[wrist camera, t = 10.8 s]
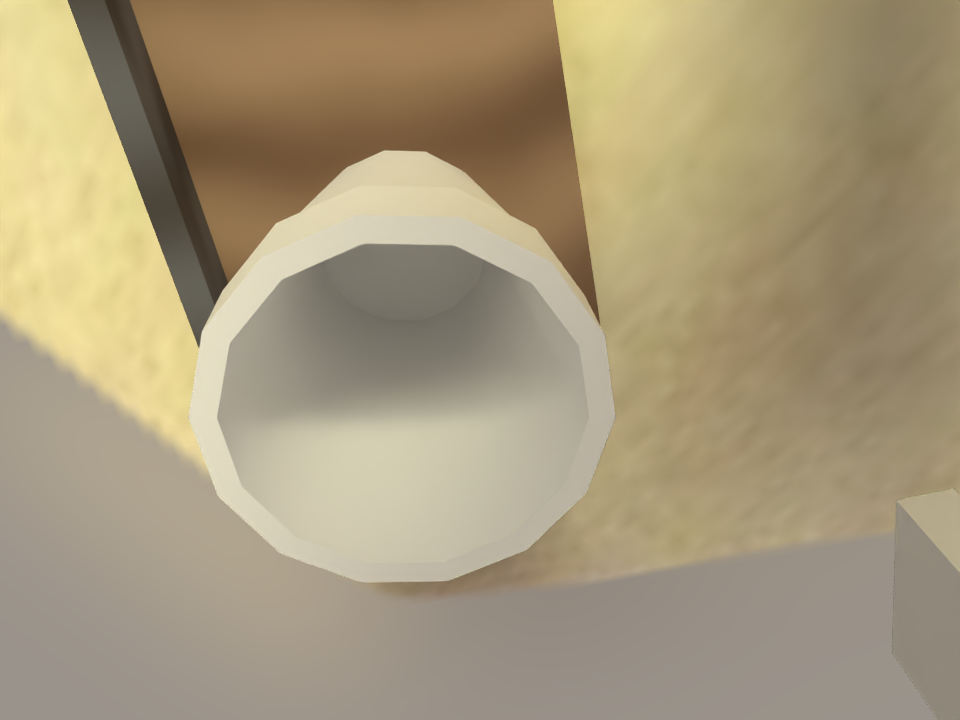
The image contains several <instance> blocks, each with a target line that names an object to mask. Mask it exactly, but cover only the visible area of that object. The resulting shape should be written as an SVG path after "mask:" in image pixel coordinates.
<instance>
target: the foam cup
mask: <svg viewBox="0 0 960 720" xmlns="http://www.w3.org/2000/svg"><path fill="white" fill-rule="evenodd" d="M188 418H189V421H190V423H191V426H192V429H193V431H194V434H195V436H196V439H197V442H198V444H199V447H200V450H201V452H202V455H203V457H204V460H205V463H206V465H207V468H208V471H209V473H210V476H211V478H212V481H213V484H214V486H215V489H216V492H217V494H218V497H219V498H221V499H222V500H223V501H224V502H225V503H226V504H227V505H228V506H229V507H230V508H231V509H233V510H234V511H235V512H236V513H237V514H238V515H239V516H240V517H241V518H242V519H243V520H245V521H246V522H247V523H248V524H249V525H250V526H251V527H252V528H253V529H254V530H256V532H258V533H259V534H260V535H261V536H262V537H263V538H264V539H265V540H267V542H269V543H270V544H271V545H272V546H273V547H274V548H275V549H276V550H277V551H278V552H279V553H280V554H283V555H286V556H288V557H291V558H294V559H297V560H300V561H303V562H305V563H308V564H311V565H314V566H317V567H319V568H322V569H325V570H328V571H330V572H333V573H336V574H339V575H341V576H344V577H347V578H350V579H353V580H355V581H358V582H361V583H375V582H430V581H450V580H452V579H455V578H457V577H460V576H462V575H465V574H467V573H470V572H472V571H475V570H478V569H480V568H483V567H485V566H488V565H490V564H493V563H495V562H498V561H500V560H503V559H505V558H508V557H511V556H513V555H516V554H518V553H521V552H523V551H526V550H527V549H528V548H530V547H531V546H532V545H533V544H534V543H535V542H536V541H537V540H538V539H539V538H540V537H541V536H542V535H543V534H544V533H545V532H546V531H547V530H548V529H549V528H550V527H552V526H553V525H554V524H555V523H556V522H557V521H558V520H559V519H560V518H561V517H562V516H563V515H564V514H565V513H566V512H567V511H568V510H569V509H570V508H571V507H573V506H574V505H575V504H576V503H577V502H578V501H579V500H580V499H581V498H582V497H583V496H584V495H585V494H586V493H587V490H588V488H589V485H590V483H591V480H592V477H593V475H594V472H595V470H596V467H597V465H598V462H599V459H600V457H601V454H602V452H603V449H604V446H605V444H606V441H607V439H608V436H609V433H610V431H611V428H612V426H613V423H614V420H615V418H616V417H615V409H614V401H613V394H612V386H611V378H610V370H609V362H608V354H607V346H606V339H605V334H604V332H603V330H602V328H601V326H600V324H599V322H598V320H597V319H596V317H595V315H594V313H593V311H592V309H591V307H590V305H589V303H588V301H587V299H586V297H585V295H584V294H583V293H582V291H581V290H580V289H579V287H578V286H577V284H576V283H575V282H574V280H573V279H572V278H571V276H570V275H569V273H568V272H567V271H566V269H565V268H564V267H563V265H562V264H561V262H560V261H559V260H558V258H557V257H556V256H555V254H554V253H553V251H552V250H551V249H550V247H549V246H548V245H547V243H546V242H545V241H544V239H543V238H542V236H541V235H540V234H539V232H538V231H537V230H536V228H534V227H532V226H530V225H528V224H526V223H524V222H522V221H520V220H518V219H516V218H514V217H512V216H510V215H509V214H508V213H507V212H506V211H505V210H504V209H503V208H502V207H500V206H499V205H498V204H497V203H496V202H495V201H494V200H493V199H492V198H491V197H490V196H489V195H488V194H487V193H486V192H485V191H484V190H483V189H482V188H481V187H480V186H479V185H478V184H476V183H475V182H474V181H473V180H472V179H471V178H470V177H469V176H468V175H467V174H466V173H465V172H463V171H462V170H460V169H458V168H456V167H455V166H453V165H451V164H449V163H447V162H445V161H443V160H441V159H439V158H437V157H435V156H433V155H431V154H429V153H427V152H421V151H385V150H384V151H382V152H380V153H378V154H375V155H373V156H371V157H369V158H367V159H364V160H362V161H360V162H358V163H355V164H353V165H351V166H349V167H347V168H346V169H344V170H343V171H342V172H341V173H340V174H339V175H338V176H337V177H336V178H335V179H334V180H333V181H332V182H331V183H330V184H329V185H328V186H327V187H326V188H325V189H324V190H322V191H321V192H320V193H319V194H318V195H317V196H316V197H315V198H314V199H313V200H312V201H311V202H310V203H309V204H308V205H307V206H306V207H305V208H304V209H303V210H302V211H301V212H300V213H298V214H296V215H293V216H291V217H289V218H287V219H284V220H282V221H280V222H278V223H276V224H275V225H274V227H273V228H272V229H271V230H270V232H269V233H268V234H267V235H266V237H265V238H264V239H263V240H262V242H261V243H260V244H259V245H258V247H257V248H256V249H255V251H254V252H253V253H252V254H251V256H250V257H249V258H248V259H247V261H246V262H245V263H244V264H243V266H242V267H241V268H240V269H239V271H238V272H237V273H236V274H235V276H234V277H233V278H232V279H231V281H230V282H229V283H228V284H227V286H226V287H225V288H224V290H223V291H222V293H221V295H220V297H219V299H218V301H217V303H216V305H215V307H214V309H213V311H212V313H211V315H210V317H209V319H208V321H207V323H206V324H205V326H204V328H203V330H202V334H201V341H200V347H199V353H198V360H197V366H196V373H195V379H194V385H193V392H192V398H191V405H190V411H189V417H188Z"/></svg>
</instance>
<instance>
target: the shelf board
mask: <svg viewBox="0 0 960 720" xmlns="http://www.w3.org/2000/svg"><path fill="white" fill-rule="evenodd" d="M68 3H69V5H70V8H71V11H72V13H73V16H74V19H75V21H76V24H77V27H78V29H79V32H80V35H81V37H82V40H83V42H84V45H85V48H86V50H87V53H88V56H89V58H90V61H91V64H92V66H93V69H94V72H95V74H96V77H97V80H98V82H99V85H100V87H101V90H102V93H103V95H104V98H105V101H106V103H107V106H108V109H109V111H110V114H111V117H112V119H113V122H114V124H115V127H116V130H117V132H118V135H119V138H120V140H121V143H122V146H123V148H124V151H125V154H126V156H127V159H128V162H129V164H130V167H131V169H132V172H133V175H134V177H135V180H136V183H137V185H138V188H139V191H140V193H141V196H142V199H143V201H144V204H145V207H146V209H147V212H148V214H149V217H150V220H151V222H152V225H153V228H154V230H155V233H156V236H157V238H158V241H159V244H160V246H161V249H162V252H163V254H164V257H165V259H166V262H167V265H168V267H169V270H170V273H171V275H172V278H173V281H174V283H175V286H176V289H177V291H178V294H179V297H180V299H181V302H182V304H183V307H184V310H185V312H186V315H187V318H188V320H189V323H190V326H191V328H192V331H193V334H194V336H195V339H196V342H197V344H198V347H200V341H201V334H202V330H203V328H204V326H205V324H206V323H207V321H208V319H209V317H210V315H211V313H212V311H213V309H214V307H215V305H216V303H217V301H218V299H219V297H220V295H221V293H222V291H223V290H224V288H225V287H226V286H227V284H228V283H229V282H230V281H231V279H232V278H233V277H234V276H235V274H236V273H237V272H238V271H239V269H240V268H241V267H242V266H243V264H244V263H245V262H246V261H247V259H248V258H249V257H250V256H251V254H252V253H253V252H254V251H255V249H256V248H257V247H258V245H259V244H260V243H261V242H262V240H263V239H264V238H265V237H266V235H267V234H268V233H269V232H270V230H271V229H272V228H273V227H274V225H275V224H276V223H278V222H280V221H282V220H284V219H287V218H289V217H291V216H293V215H296V214H298V213H300V212H301V211H302V210H303V209H304V208H305V207H306V206H307V205H308V204H309V203H310V202H311V201H312V200H313V199H314V198H315V197H316V196H317V195H318V194H319V193H320V192H321V191H322V190H324V189H325V188H326V187H327V186H328V185H329V184H330V183H331V182H332V181H333V180H334V179H335V178H336V177H337V176H338V175H339V174H340V173H341V172H342V171H343V170H344V169H346V168H347V167H349V166H351V165H353V164H355V163H358V162H360V161H362V160H364V159H367V158H369V157H371V156H373V155H375V154H378V153H380V152H382V151H384V150H385V151H421V152H427V153H429V154H431V155H433V156H435V157H437V158H439V159H441V160H443V161H445V162H447V163H449V164H451V165H453V166H455V167H456V168H458V169H460V170H462V171H463V172H465V173H466V174H467V175H468V176H469V177H470V178H471V179H472V180H473V181H474V182H475V183H476V184H478V185H479V186H480V187H481V188H482V189H483V190H484V191H485V192H486V193H487V194H488V195H489V196H490V197H491V198H492V199H493V200H494V201H495V202H496V203H497V204H498V205H499V206H500V207H502V208H503V209H504V210H505V211H506V212H507V213H508V214H509V215H510V216H512V217H514V218H516V219H518V220H520V221H522V222H524V223H526V224H528V225H530V226H532V227H534V228H536V230H537V231H538V232H539V234H540V235H541V236H542V238H543V239H544V241H545V242H546V243H547V245H548V246H549V247H550V249H551V250H552V251H553V253H554V254H555V256H556V257H557V258H558V260H559V261H560V262H561V264H562V265H563V267H564V268H565V269H566V271H567V272H568V273H569V275H570V276H571V278H572V279H573V280H574V282H575V283H576V284H577V286H578V287H579V289H580V290H581V291H582V293H583V294H584V295H585V297H586V299H587V301H588V303H589V305H590V307H591V309H592V311H593V313H594V315H595V317H596V319H597V320H598V322H599V324H600V321H599V314H598V307H597V300H596V293H595V286H594V280H593V273H592V266H591V259H590V252H589V245H588V239H587V232H586V225H585V218H584V211H583V204H582V198H581V191H580V184H579V177H578V170H577V163H576V157H575V150H574V143H573V136H572V129H571V122H570V116H569V109H568V102H567V95H566V88H565V81H564V75H563V68H562V61H561V54H560V47H559V40H558V34H557V27H556V20H555V13H554V6H553V0H68Z"/></svg>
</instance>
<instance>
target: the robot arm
mask: <svg viewBox="0 0 960 720" xmlns="http://www.w3.org/2000/svg"><path fill="white" fill-rule="evenodd" d="M892 632H893V633H892V653H893V655H894V656H895V657H896V659H897V660H898V662H899V663H900V665H901V666H902V668H903V669H904V671H905V672H906V674H907V675H908V677H909V678H910V679H911V681H912V683H913V684H914V685H915V687H916V688H917V690H918V691H919V692H920V694H921V696H922V697H923V699H924V700H925V701H926V703H927V705H928V706H929V707H930V709H931V710H932V712H933V713H934V715H935V716H936V718H937V719H938V720H960V494H959V493H958V492H957V491H956V490H955V489H954V488H953V489H948V490H943V491H938V492H934V493H929V494H924V495H919V496H914V497H909V498H905V499H900V500H896V530H895V566H894V598H893V631H892Z"/></svg>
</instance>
